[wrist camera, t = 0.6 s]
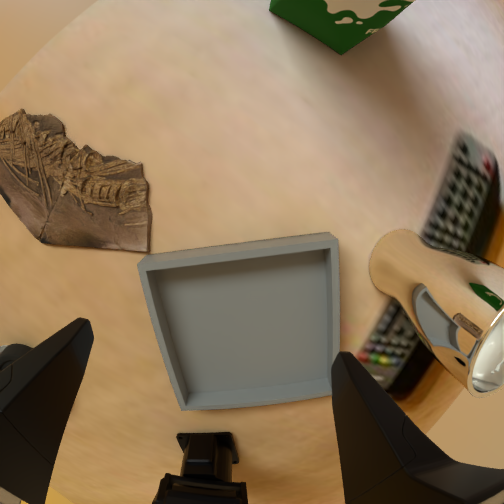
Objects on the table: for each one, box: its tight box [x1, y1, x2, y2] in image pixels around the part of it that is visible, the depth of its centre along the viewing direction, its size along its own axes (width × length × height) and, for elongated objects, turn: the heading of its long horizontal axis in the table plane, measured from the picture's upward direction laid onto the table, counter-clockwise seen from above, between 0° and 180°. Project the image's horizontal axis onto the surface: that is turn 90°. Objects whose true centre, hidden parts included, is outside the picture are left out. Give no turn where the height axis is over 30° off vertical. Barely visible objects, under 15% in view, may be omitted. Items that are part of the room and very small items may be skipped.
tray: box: [137, 232, 340, 411], centre depth 25 cm, size 15×15×2 cm
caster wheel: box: [0, 344, 33, 372], centre depth 25 cm, size 7×11×10 cm
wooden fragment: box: [0, 109, 152, 251], centre depth 22 cm, size 26×11×1 cm, turn 59°
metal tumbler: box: [369, 229, 504, 398], centre depth 18 cm, size 7×7×15 cm
